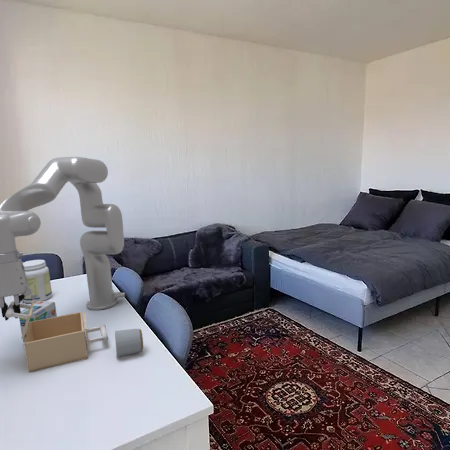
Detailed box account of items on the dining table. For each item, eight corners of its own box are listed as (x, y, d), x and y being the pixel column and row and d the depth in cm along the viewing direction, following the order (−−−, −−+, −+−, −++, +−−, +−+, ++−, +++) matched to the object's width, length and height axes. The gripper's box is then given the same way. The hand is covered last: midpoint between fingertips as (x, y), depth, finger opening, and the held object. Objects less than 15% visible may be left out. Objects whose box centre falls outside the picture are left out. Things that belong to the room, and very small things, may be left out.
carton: (105, 331, 127) (102, 307, 126) (110, 352, 113) (107, 325, 111) (33, 347, 119) (29, 321, 117) (28, 372, 104) (23, 343, 102)
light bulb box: (39, 343, 121) (34, 313, 119) (22, 342, 123) (17, 312, 121) (59, 328, 131) (55, 300, 129) (43, 327, 133) (39, 300, 131)
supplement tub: (44, 292, 171) (39, 257, 168) (57, 296, 164) (52, 261, 160) (17, 300, 161) (11, 264, 158) (30, 306, 154) (24, 268, 151)
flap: (23, 339, 103) (-2, 335, 100) (28, 320, 116) (6, 316, 113) (30, 316, 103) (5, 312, 100) (34, 299, 116) (12, 295, 113)
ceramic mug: (145, 355, 110) (142, 331, 109) (117, 361, 108) (114, 337, 106) (140, 340, 120) (138, 318, 119) (115, 345, 118) (112, 323, 116)
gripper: (34, 251, 111) (42, 307, 114) (-27, 259, 104) (-17, 318, 108) (32, 256, 104) (41, 316, 107) (-34, 265, 98) (-22, 328, 101)
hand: (12, 317), depth 107 cm, fingers closed on flap, 2 cm apart
